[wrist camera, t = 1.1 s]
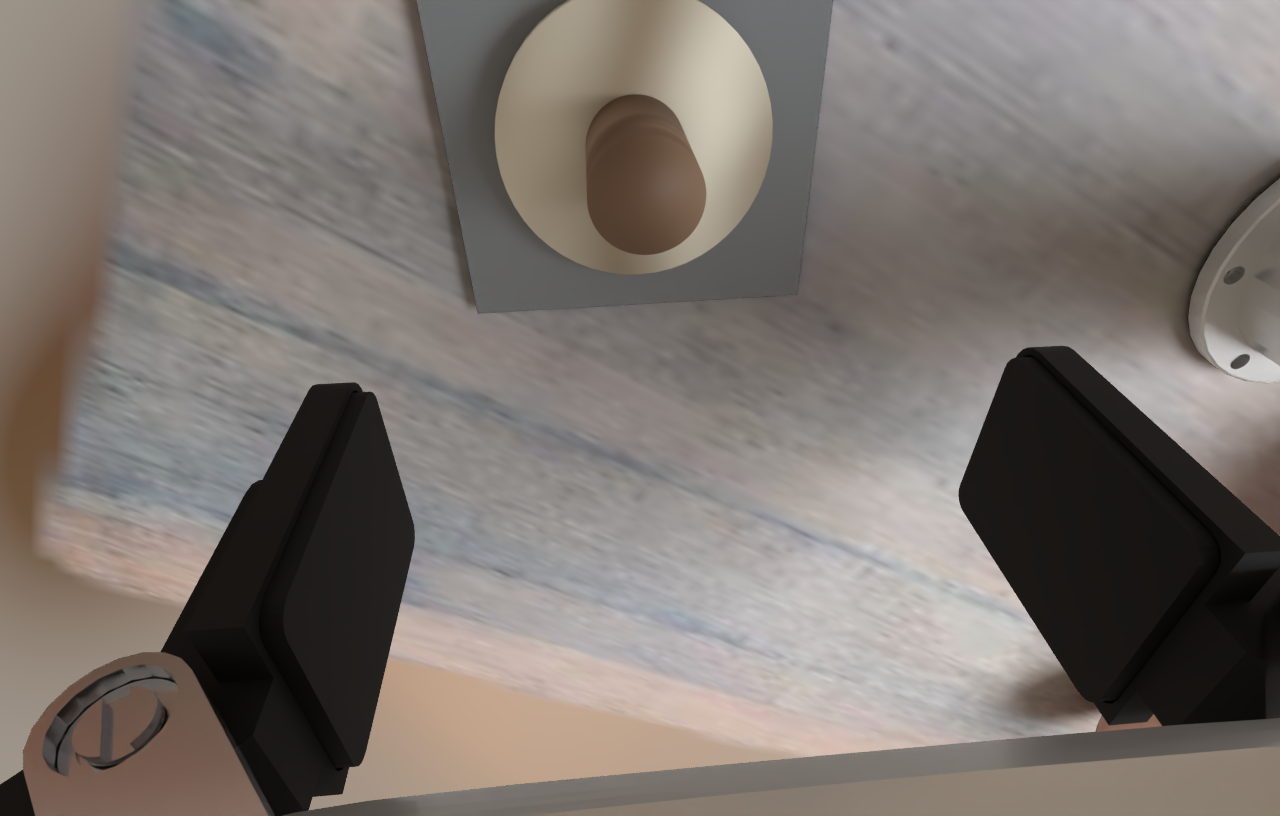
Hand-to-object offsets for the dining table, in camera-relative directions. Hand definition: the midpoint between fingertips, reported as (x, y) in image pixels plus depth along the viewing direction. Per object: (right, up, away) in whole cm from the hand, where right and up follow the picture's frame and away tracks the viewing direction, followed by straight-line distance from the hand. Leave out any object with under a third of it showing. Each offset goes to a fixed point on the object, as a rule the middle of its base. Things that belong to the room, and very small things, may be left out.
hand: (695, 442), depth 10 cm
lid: (-1, +11, +15) cm, 19 cm away
